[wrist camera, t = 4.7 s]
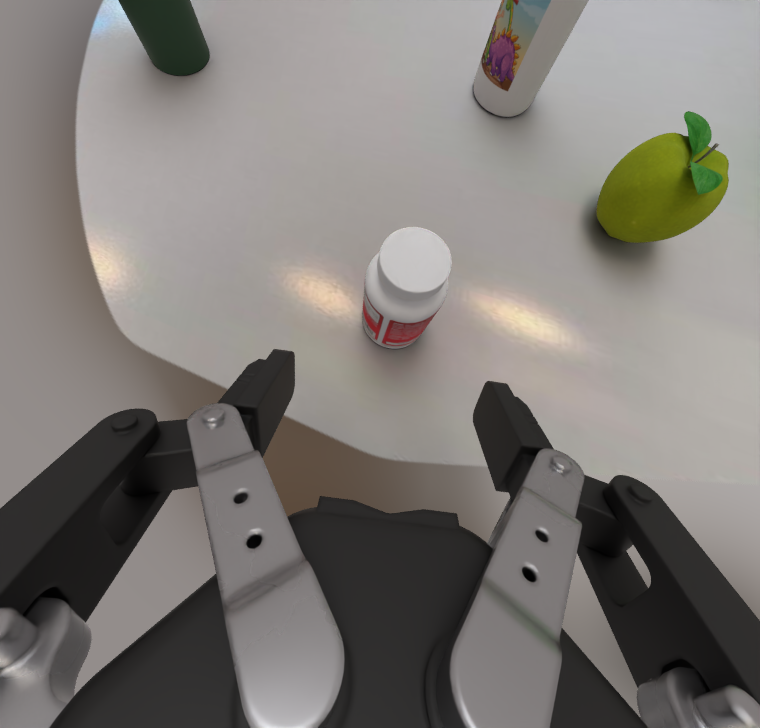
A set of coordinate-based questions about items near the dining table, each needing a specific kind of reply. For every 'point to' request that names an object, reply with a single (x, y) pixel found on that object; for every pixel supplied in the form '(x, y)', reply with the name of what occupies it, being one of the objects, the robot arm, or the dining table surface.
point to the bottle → (169, 34)
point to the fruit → (664, 186)
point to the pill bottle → (405, 286)
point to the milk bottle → (522, 52)
